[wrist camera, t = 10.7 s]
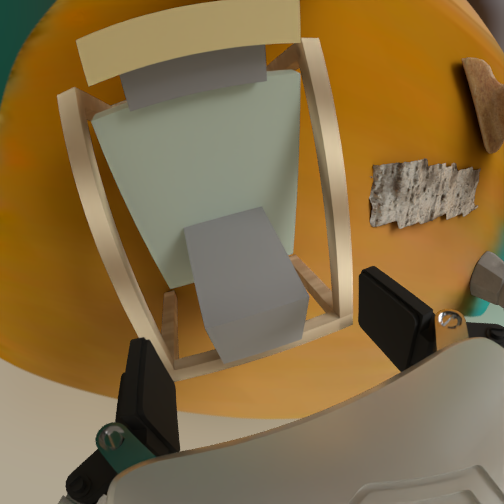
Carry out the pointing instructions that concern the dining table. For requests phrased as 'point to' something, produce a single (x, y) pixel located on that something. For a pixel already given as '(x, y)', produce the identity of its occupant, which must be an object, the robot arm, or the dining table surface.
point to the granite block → (245, 285)
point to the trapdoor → (199, 119)
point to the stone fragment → (421, 192)
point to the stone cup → (486, 102)
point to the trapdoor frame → (339, 241)
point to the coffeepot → (489, 279)
